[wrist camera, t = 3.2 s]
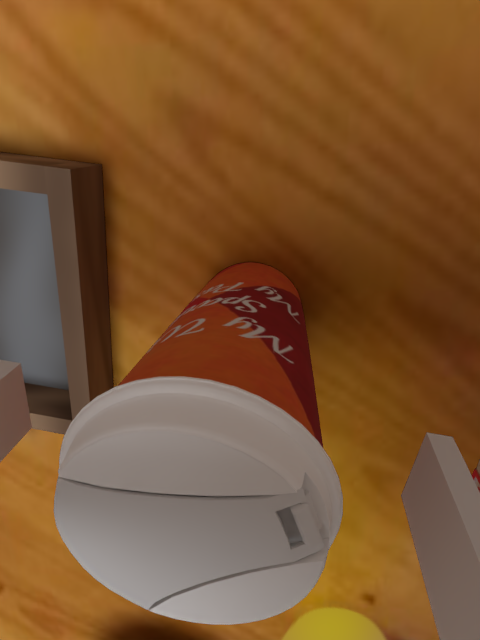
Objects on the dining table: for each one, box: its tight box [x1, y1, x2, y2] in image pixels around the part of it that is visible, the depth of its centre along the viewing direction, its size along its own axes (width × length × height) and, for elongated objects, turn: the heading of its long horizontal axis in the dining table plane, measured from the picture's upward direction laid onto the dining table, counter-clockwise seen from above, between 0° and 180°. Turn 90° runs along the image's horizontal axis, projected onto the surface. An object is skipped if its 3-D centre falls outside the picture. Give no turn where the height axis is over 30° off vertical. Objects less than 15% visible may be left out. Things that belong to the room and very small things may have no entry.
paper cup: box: [54, 262, 343, 625], centre depth 16 cm, size 8×8×14 cm
